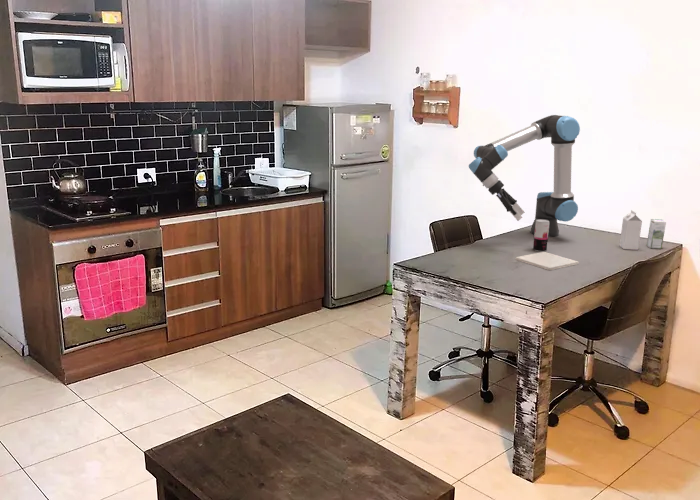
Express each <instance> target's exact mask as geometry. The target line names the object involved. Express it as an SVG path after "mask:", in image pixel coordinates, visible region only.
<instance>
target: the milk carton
mask: <svg viewBox="0 0 700 500" xmlns="http://www.w3.org/2000/svg"><path fill="white" fill-rule="evenodd" d="M642 223H643V220H642V219H641V218H639V216H637V212H636V211H633V210H632V209H631V210H630V212H629V213H627V214H626V215H625V216H623V218H622V224H621V233H620V240H619V247H620V248H621V249H623V250H632V251H633V250H639V245H640V239H641V230H642Z"/></svg>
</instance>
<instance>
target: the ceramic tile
mask: <svg viewBox="0 0 700 500" xmlns="http://www.w3.org/2000/svg"><path fill="white" fill-rule="evenodd" d="M515 261H518V262H522V263H526V264H527V265H532V266H534V267H538V268H541V269H544V270H547V271H554V270H558V269H563V268H568V267H572V266H577V265H579V261H578V260H574V259H570V258H567V257H564V256H560V255H557V254H553V253H551V252H546V251H544V252H534V253H530V254H525V255H521V256H520V255H519V256H516V257H515Z"/></svg>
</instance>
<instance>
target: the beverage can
mask: <svg viewBox="0 0 700 500" xmlns="http://www.w3.org/2000/svg"><path fill="white" fill-rule="evenodd" d="M548 232H549V221H548V220H542V219H539V220H536V223H535V234H533V236H534V237H533V246H532V249H533V250H534V251H535V252H538V253H540V252H546V251H547V250H548V242H549V241H548V240H549V236H548Z"/></svg>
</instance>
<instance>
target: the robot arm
mask: <svg viewBox="0 0 700 500" xmlns="http://www.w3.org/2000/svg"><path fill="white" fill-rule="evenodd" d="M580 131H581V127H580V123H579V122H578V120H577V119H575V118H574V117H572V116H569V115H560V114H559V115H557V114H551V115H548V116H545V117H543V118H542V117H541V118H540V119H538V120H536V121H533V122H531V123H530V125H529V126H527V127H525V128H523V129H520V130H517V131H515V132H514V133H511V134H509V135H506V136H504V137H502V138H499V139H497V140H495V141H493V142H490V143H487V144H486V145H477V146H476V147H475V148H474V150H473V156H474V158H475V159H474V160H473V161H472V162H470V163H469V164H468V169H469V170H470V171H471V172H472V174H473V175H475V177H476V178H477V180H479V181H480V183H481V184H482V186H483V187H485V189H487V190H488V192H489V193H490V194H491V195H492V196H493V195H495V194H496V195H495V197H497V198H498V200H499V201H500V203H501V204H502V205H503V206H504V209H506V212H507V213H508V212H509V213H510V214H511V215H512V216H513V217H514V218H515V220H516V221H517V222H519V221H520V220H521V219H522V218H523V214H525V211H524V210H523V209H522V207H521V206H520V205H519V203H517V202H518V201H517V199H515V198H513V196H511V194H509V192H508V191H507V190H505V188H504V186H505V184H504V183H503V182H502V181H501V180H500V179H499V177H498V176H497V175H496V174H495V172H493V171H492V170H494V169H495V168H496V167H497V166H498V165H499V164H501V162H503V161H504V160H505V159H506V158H507V157H508V156H509V153H508V152H509V151H512V150H513V149H516V148H519V147H522V146H523V145H526V144H528V143H530V142H532V141H535V140H538V141H540V140H541V139H542V140H543V139H546V138H550V144H551V145H552V146H553V191H543V192H542V191H541V192H538V193H537V197H536V204H535V214H534V215H535V216H534V220H533V222H532V225H531V227H530V234H533V235H534V234H535V223H536V220H539V219H542V220H548V221H549V232H548V237H557V236H559V235H560V229H559V224H558V221H559V222H566V223H567V222H569V221H571V220H573V219H574V218H575V217H576V216H577V214H578V210H579V206H578V204H577V203H576V201H574V199H575V194H574V193H573V192H572V157H573V156H572V155H573V151H572V149H573V145H575V143H576V139H577V137H578V136H579V134H580Z"/></svg>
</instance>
